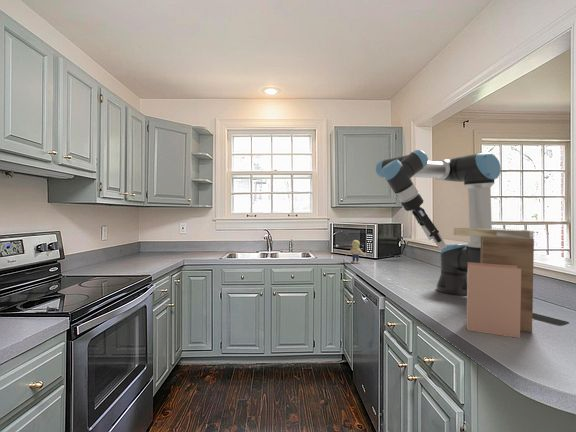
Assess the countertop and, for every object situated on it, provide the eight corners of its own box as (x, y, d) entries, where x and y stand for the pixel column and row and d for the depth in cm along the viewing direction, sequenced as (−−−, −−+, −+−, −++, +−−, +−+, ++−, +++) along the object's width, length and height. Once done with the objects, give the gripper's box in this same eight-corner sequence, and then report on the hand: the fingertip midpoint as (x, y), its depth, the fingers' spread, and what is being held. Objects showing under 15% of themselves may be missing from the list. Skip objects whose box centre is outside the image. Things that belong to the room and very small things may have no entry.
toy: (365, 262, 245) (365, 239, 245) (365, 263, 239) (366, 240, 238) (345, 261, 248) (345, 239, 248) (345, 263, 241) (345, 240, 241)
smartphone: (559, 325, 109) (512, 312, 123) (559, 327, 109) (512, 314, 123) (570, 322, 112) (523, 310, 126) (570, 324, 112) (523, 312, 126)
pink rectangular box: (466, 323, 111) (467, 262, 110) (515, 330, 104) (516, 265, 104) (467, 330, 104) (468, 265, 104) (519, 338, 98) (521, 268, 98)
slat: (455, 234, 121) (455, 228, 121) (522, 237, 109) (522, 230, 109) (453, 235, 118) (453, 228, 118) (522, 238, 106) (522, 230, 106)
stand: (479, 317, 118) (480, 228, 117) (526, 323, 111) (527, 230, 111) (481, 324, 110) (483, 229, 109) (532, 332, 103) (534, 231, 103)
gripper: (394, 198, 136) (420, 239, 138) (408, 208, 112) (438, 258, 114) (410, 188, 135) (436, 230, 137) (427, 197, 110) (458, 247, 112)
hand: (437, 243), depth 125 cm, fingers open, 13 cm apart
